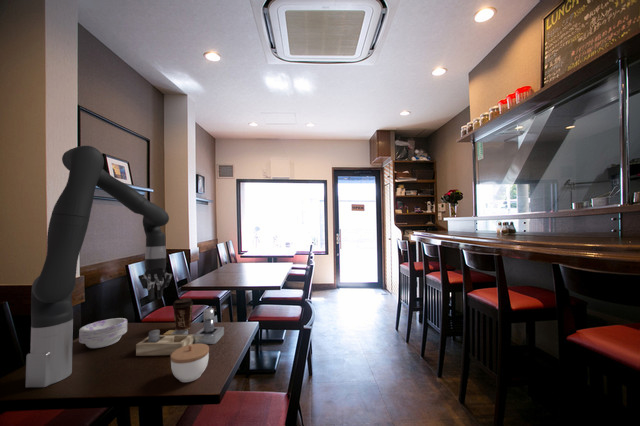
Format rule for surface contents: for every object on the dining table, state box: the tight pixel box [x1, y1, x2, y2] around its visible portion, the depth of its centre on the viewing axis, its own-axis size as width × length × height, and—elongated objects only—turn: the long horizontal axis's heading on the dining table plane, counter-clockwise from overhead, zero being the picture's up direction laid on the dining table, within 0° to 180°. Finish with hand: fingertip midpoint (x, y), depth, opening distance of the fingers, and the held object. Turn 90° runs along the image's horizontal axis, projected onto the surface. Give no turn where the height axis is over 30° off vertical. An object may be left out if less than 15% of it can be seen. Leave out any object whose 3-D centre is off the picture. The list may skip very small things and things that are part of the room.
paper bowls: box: [78, 317, 128, 349], centre depth 107 cm, size 15×15×8 cm
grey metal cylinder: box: [202, 307, 215, 334], centre depth 108 cm, size 4×4×12 cm
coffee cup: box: [172, 297, 194, 331], centre depth 120 cm, size 9×8×13 cm
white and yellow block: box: [163, 329, 189, 335], centre depth 108 cm, size 4×8×3 cm, turn 89°
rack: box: [135, 329, 193, 357], centre depth 99 cm, size 8×17×7 cm, turn 89°
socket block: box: [193, 326, 225, 345], centre depth 107 cm, size 9×9×3 cm
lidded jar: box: [170, 344, 210, 383], centre depth 81 cm, size 11×11×9 cm
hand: (155, 298), depth 109 cm, fingers open, 3 cm apart
